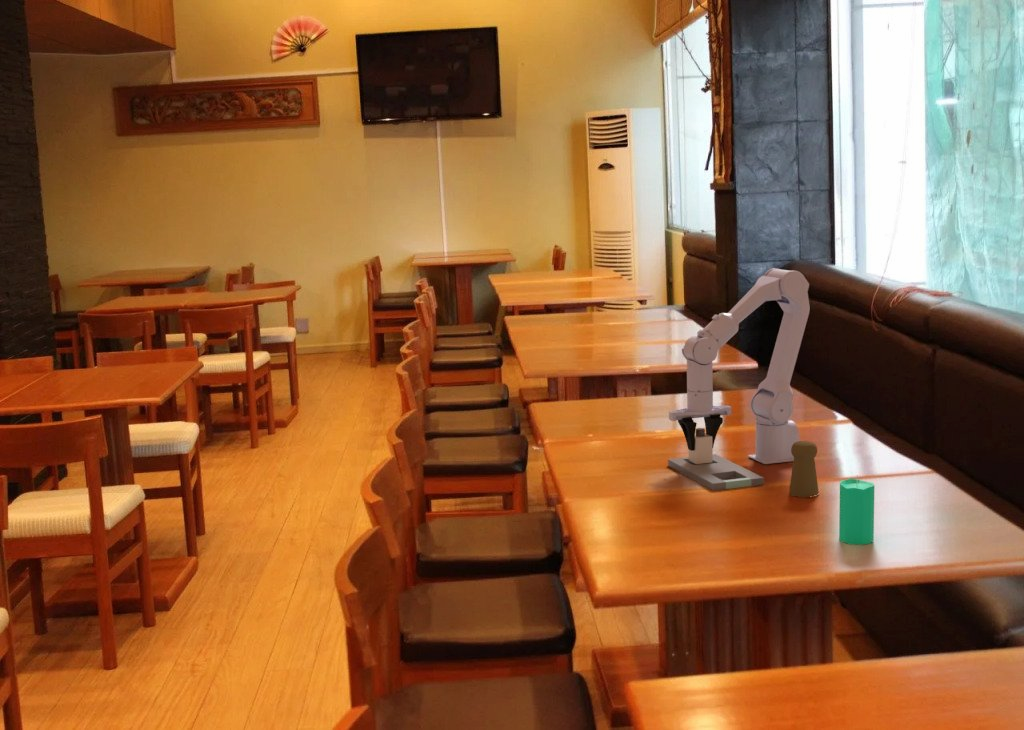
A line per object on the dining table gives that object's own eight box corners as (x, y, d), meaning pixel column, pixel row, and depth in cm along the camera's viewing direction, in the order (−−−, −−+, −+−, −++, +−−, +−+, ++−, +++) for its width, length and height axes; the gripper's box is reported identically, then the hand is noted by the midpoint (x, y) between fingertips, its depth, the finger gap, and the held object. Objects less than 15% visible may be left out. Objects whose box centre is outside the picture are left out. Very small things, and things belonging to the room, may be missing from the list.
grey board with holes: (715, 460, 268) (715, 454, 267) (763, 484, 246) (763, 477, 246) (668, 465, 264) (668, 459, 264) (712, 490, 243) (712, 483, 242)
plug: (704, 458, 264) (704, 426, 263) (712, 462, 260) (712, 429, 259) (688, 460, 263) (688, 428, 262) (696, 464, 259) (696, 431, 258)
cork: (819, 498, 234) (820, 445, 233) (789, 497, 236) (789, 445, 234) (818, 490, 240) (818, 438, 238) (788, 489, 241) (788, 438, 240)
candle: (834, 535, 210) (834, 471, 208) (865, 533, 211) (866, 470, 209) (846, 545, 204) (847, 480, 202) (878, 543, 205) (880, 478, 203)
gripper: (721, 384, 265) (721, 441, 267) (663, 389, 261) (663, 448, 263) (735, 389, 258) (735, 448, 260) (675, 395, 254) (676, 454, 256)
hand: (700, 448), depth 261 cm, fingers closed on plug, 4 cm apart
